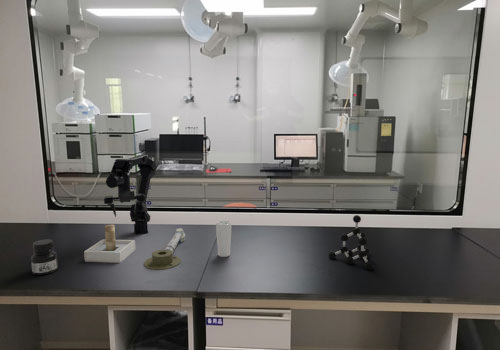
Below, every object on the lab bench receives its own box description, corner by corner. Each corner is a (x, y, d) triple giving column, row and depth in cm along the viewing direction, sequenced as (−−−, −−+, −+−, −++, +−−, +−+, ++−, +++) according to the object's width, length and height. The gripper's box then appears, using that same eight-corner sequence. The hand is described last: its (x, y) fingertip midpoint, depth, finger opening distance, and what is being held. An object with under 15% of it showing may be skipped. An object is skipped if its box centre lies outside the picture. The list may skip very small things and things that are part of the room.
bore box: (103, 248, 163) (102, 239, 163) (135, 249, 162) (134, 240, 161) (84, 261, 148) (84, 251, 147) (120, 262, 147) (119, 252, 146)
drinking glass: (233, 253, 157) (233, 221, 155) (228, 258, 151) (227, 225, 149) (220, 251, 159) (219, 219, 157) (213, 257, 153) (213, 223, 151)
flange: (187, 252, 147) (167, 244, 157) (156, 263, 136) (136, 253, 146) (187, 263, 147) (168, 254, 158) (156, 274, 137) (137, 264, 147)
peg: (113, 251, 158) (111, 223, 156) (117, 253, 155) (116, 225, 153) (104, 254, 155) (103, 225, 153) (109, 256, 152) (107, 227, 150)
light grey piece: (160, 249, 152) (175, 225, 176) (162, 262, 154) (176, 237, 178) (172, 249, 152) (185, 225, 176) (173, 262, 154) (186, 237, 178)
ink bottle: (29, 277, 133) (26, 247, 131) (33, 268, 141) (30, 240, 139) (58, 273, 137) (55, 243, 135) (60, 265, 145) (57, 237, 143)
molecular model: (370, 271, 138) (373, 222, 135) (326, 258, 151) (328, 214, 149) (388, 259, 151) (391, 214, 148) (346, 248, 164) (348, 206, 161)
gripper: (103, 188, 159) (105, 221, 162) (145, 185, 166) (146, 217, 169) (103, 184, 170) (105, 215, 172) (143, 182, 177) (144, 212, 179)
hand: (125, 215), depth 172 cm, fingers open, 9 cm apart
